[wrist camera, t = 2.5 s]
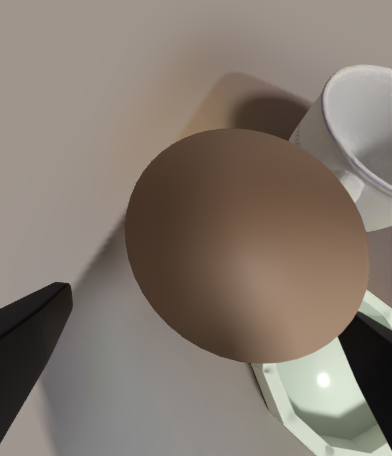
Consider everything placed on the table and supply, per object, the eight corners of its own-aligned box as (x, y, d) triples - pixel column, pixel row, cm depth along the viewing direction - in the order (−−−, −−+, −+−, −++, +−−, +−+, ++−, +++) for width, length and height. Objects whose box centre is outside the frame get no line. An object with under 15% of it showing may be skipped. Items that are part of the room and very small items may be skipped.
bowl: (423, 405, 15) (459, 417, 13) (297, 485, 13) (319, 514, 11) (341, 263, 18) (360, 257, 16) (229, 308, 16) (236, 307, 14)
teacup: (322, 131, 24) (392, 46, 16) (403, 210, 21) (531, 151, 13) (217, 186, 20) (245, 107, 12) (298, 294, 17) (399, 275, 9)
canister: (238, 313, 16) (420, 300, 4) (171, 340, 15) (171, 422, 3) (213, 248, 17) (295, 113, 6) (150, 269, 16) (100, 152, 5)
